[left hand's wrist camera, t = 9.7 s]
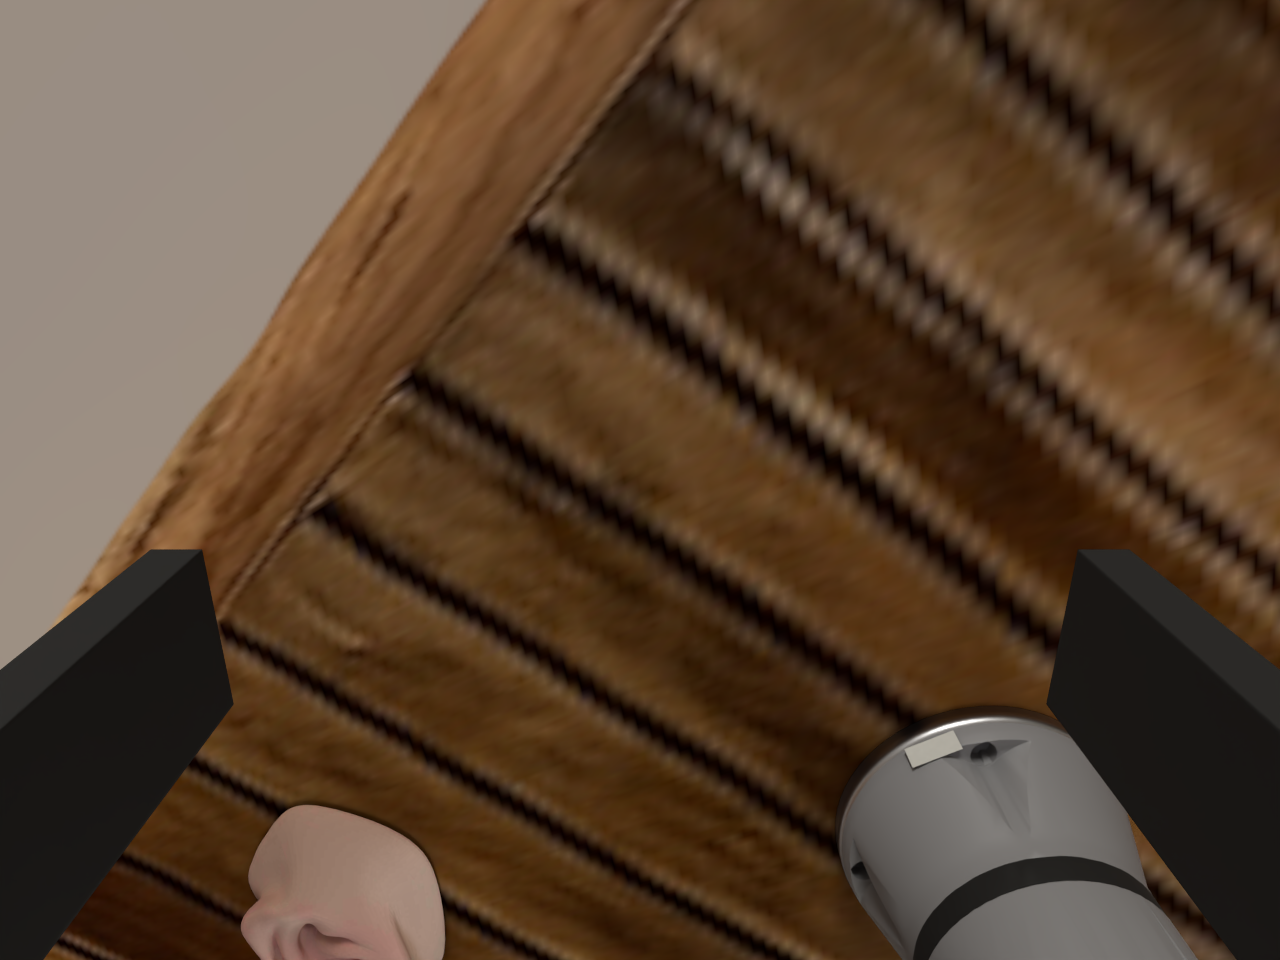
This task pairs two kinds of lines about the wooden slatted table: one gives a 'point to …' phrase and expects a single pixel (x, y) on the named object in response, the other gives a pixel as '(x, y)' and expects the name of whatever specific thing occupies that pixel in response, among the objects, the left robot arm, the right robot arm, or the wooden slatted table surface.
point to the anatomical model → (341, 891)
